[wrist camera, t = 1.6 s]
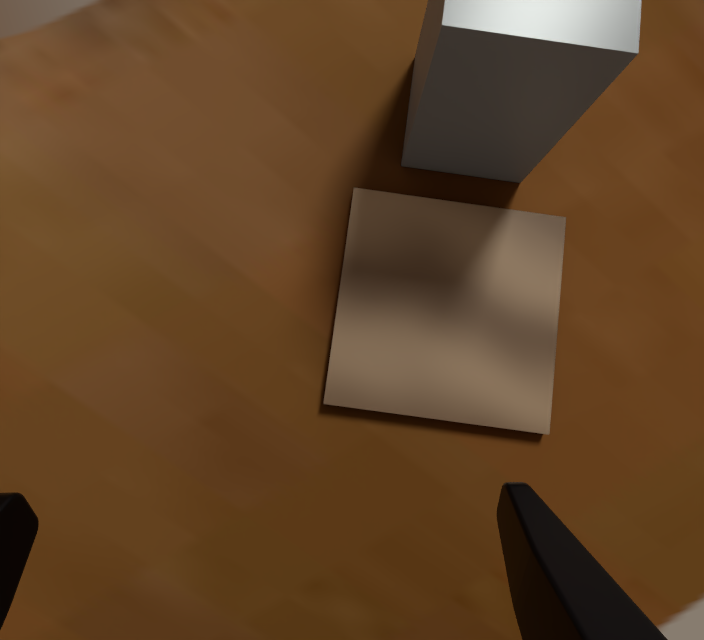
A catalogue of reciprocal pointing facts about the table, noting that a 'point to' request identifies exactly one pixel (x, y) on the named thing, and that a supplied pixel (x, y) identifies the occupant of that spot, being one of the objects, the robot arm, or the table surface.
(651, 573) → the table surface
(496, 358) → the light tan board
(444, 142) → the sharp-edged grey box
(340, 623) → the table surface
